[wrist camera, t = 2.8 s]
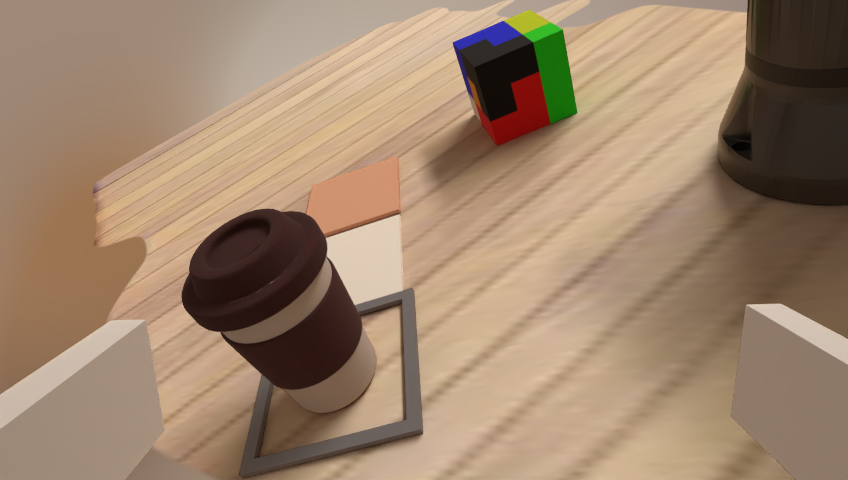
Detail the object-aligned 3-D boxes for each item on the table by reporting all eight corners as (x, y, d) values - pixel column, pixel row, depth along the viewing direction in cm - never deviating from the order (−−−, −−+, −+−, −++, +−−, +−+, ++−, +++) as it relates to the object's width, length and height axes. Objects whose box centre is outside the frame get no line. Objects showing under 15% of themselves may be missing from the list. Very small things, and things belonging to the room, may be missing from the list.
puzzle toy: (474, 114, 68) (452, 42, 62) (545, 85, 68) (529, 9, 62) (497, 146, 60) (474, 67, 54) (577, 113, 60) (562, 29, 54)
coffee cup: (282, 354, 46) (179, 229, 37) (383, 311, 46) (304, 174, 37) (281, 452, 38) (149, 324, 29) (404, 400, 38) (309, 254, 29)
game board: (307, 190, 68) (305, 187, 68) (405, 156, 66) (404, 153, 66) (242, 478, 37) (238, 475, 37) (423, 433, 35) (420, 429, 35)
